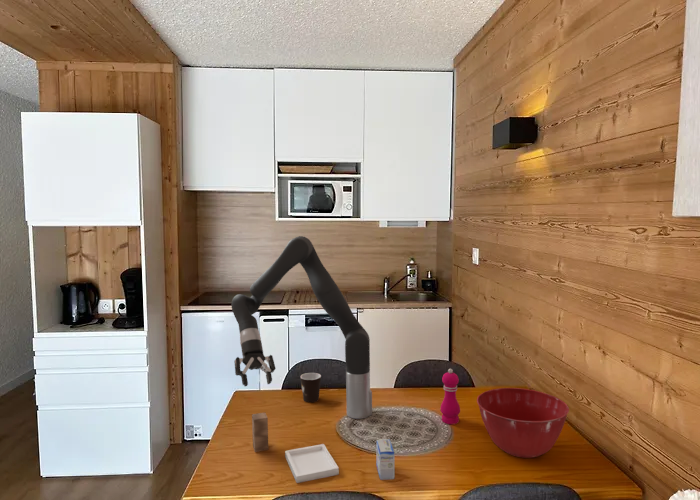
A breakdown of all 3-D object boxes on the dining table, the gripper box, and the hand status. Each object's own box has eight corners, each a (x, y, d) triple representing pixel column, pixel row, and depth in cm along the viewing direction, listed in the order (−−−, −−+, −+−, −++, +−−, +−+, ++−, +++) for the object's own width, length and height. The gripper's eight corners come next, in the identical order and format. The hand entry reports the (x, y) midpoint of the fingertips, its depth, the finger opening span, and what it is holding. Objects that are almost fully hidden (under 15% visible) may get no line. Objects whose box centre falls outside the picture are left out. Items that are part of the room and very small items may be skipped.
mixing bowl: (459, 437, 167) (459, 393, 166) (524, 422, 177) (525, 382, 176) (515, 478, 141) (516, 428, 139) (588, 459, 151) (589, 411, 150)
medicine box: (376, 466, 149) (375, 439, 148) (390, 465, 149) (390, 438, 148) (379, 480, 141) (379, 452, 140) (394, 479, 141) (394, 451, 141)
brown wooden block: (266, 443, 164) (265, 412, 163) (268, 449, 160) (267, 417, 159) (252, 445, 163) (251, 414, 162) (254, 452, 159) (253, 419, 158)
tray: (323, 449, 159) (323, 443, 159) (338, 474, 144) (338, 468, 144) (285, 456, 155) (285, 450, 155) (296, 483, 140) (296, 476, 140)
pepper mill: (460, 425, 176) (460, 372, 174) (440, 424, 177) (440, 371, 175) (459, 417, 183) (460, 366, 181) (440, 416, 184) (440, 365, 182)
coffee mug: (320, 403, 198) (320, 379, 197) (299, 403, 198) (299, 380, 197) (322, 392, 209) (322, 370, 208) (302, 392, 209) (302, 370, 209)
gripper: (234, 339, 173) (241, 382, 164) (272, 337, 180) (280, 378, 171) (229, 348, 178) (235, 390, 169) (266, 346, 185) (273, 386, 176)
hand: (258, 384), depth 170 cm, fingers open, 8 cm apart
